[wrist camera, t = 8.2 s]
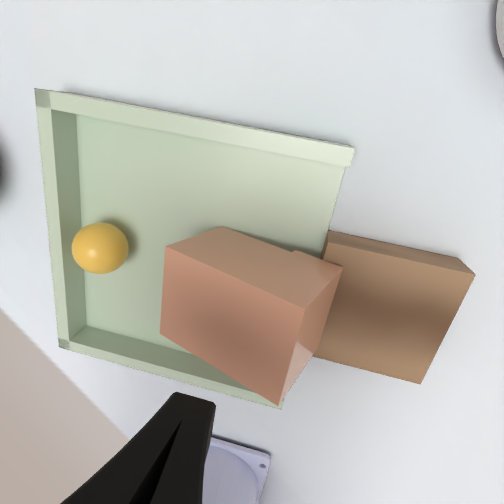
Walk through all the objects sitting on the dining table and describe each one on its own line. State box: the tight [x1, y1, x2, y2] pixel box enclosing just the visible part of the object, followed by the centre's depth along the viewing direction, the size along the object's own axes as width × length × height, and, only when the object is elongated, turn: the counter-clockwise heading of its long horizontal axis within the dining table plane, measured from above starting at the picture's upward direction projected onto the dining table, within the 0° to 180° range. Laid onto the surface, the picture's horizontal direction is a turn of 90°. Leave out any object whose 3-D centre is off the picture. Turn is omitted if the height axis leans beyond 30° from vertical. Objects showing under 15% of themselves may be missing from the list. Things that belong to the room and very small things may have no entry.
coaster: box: [312, 230, 475, 384], centre depth 18 cm, size 7×7×2 cm
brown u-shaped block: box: [160, 226, 343, 406], centre depth 16 cm, size 5×5×7 cm
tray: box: [34, 88, 355, 409], centre depth 19 cm, size 16×16×2 cm
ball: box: [72, 222, 129, 274], centre depth 19 cm, size 3×3×3 cm
